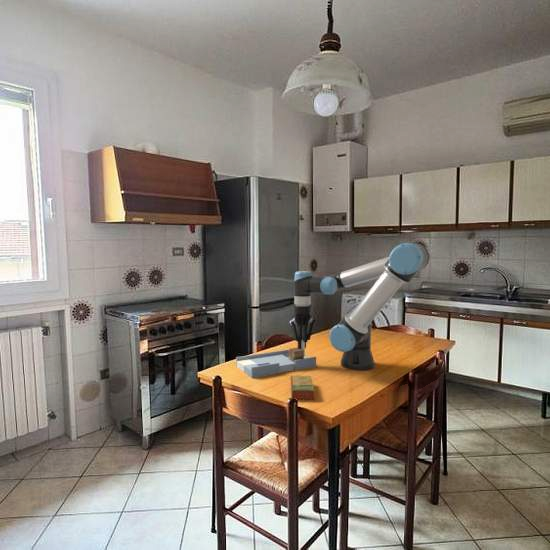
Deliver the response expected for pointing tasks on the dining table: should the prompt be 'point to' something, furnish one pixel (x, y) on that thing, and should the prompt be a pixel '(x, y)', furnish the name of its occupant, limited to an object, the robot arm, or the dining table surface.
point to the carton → (302, 388)
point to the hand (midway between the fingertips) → (301, 355)
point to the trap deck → (272, 363)
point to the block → (296, 354)
